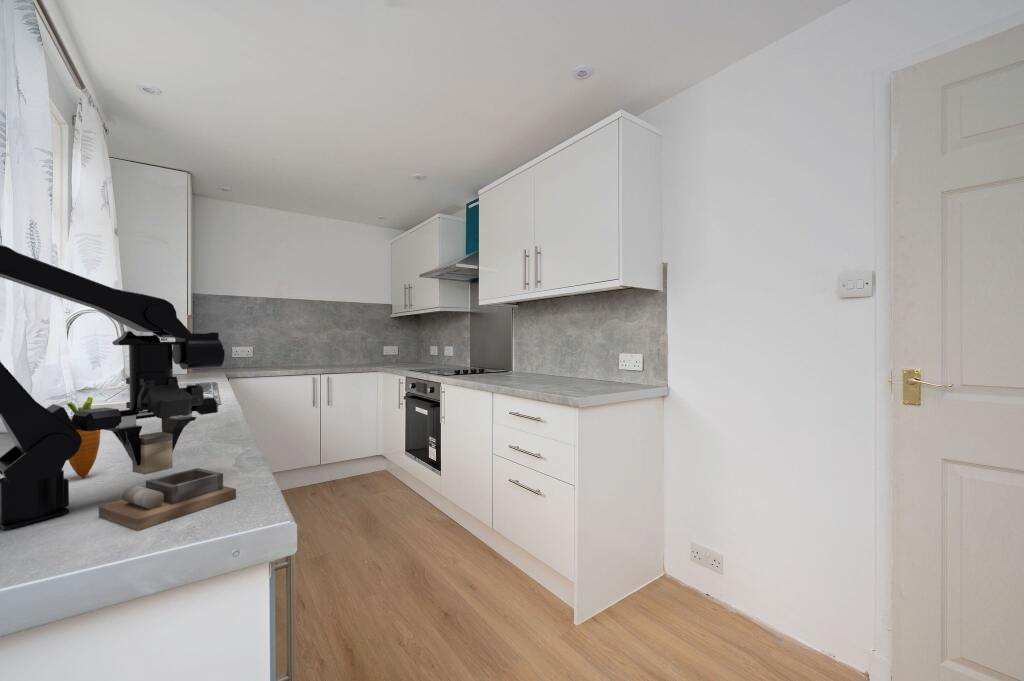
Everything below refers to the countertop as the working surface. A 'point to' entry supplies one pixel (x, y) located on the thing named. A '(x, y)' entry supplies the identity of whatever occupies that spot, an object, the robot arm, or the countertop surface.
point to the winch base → (168, 498)
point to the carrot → (85, 445)
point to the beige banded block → (155, 453)
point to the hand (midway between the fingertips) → (152, 461)
